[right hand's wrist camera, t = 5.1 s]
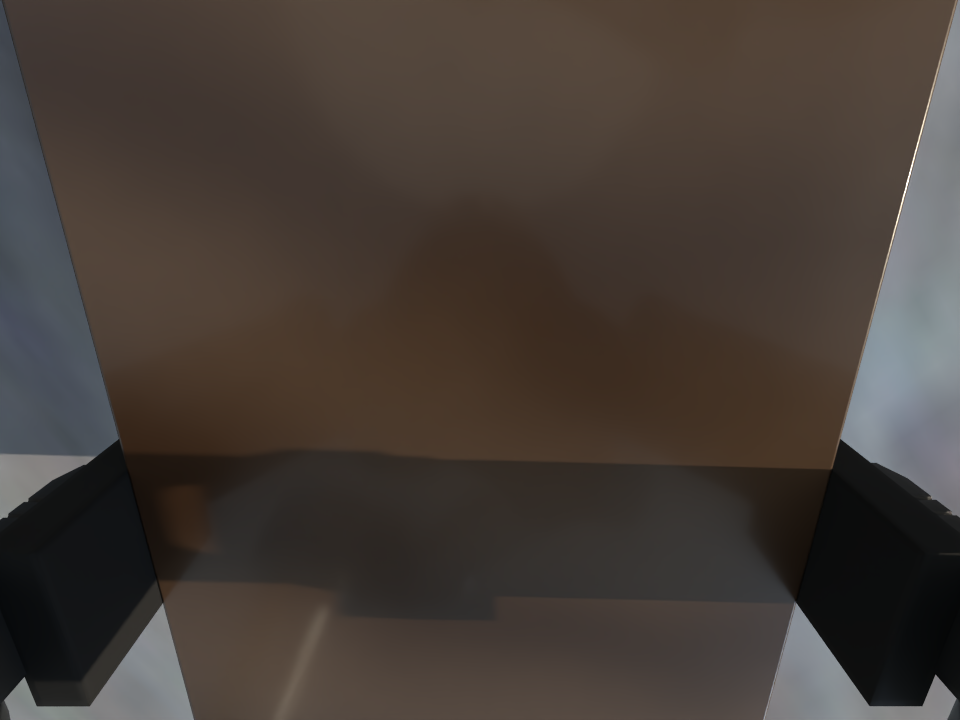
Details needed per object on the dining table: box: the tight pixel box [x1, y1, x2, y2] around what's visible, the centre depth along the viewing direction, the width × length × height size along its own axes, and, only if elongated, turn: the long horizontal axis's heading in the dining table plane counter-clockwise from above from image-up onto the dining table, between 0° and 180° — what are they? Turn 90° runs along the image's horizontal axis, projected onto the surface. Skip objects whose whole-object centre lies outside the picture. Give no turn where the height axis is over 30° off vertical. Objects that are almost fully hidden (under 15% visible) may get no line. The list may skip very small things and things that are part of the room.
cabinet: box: [2, 0, 958, 720], centre depth 12 cm, size 22×11×10 cm, turn 0°
